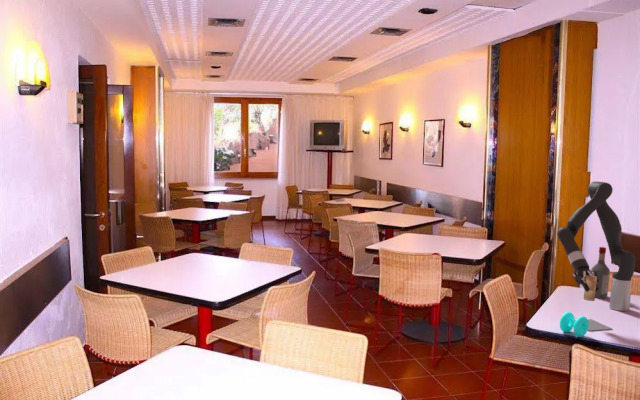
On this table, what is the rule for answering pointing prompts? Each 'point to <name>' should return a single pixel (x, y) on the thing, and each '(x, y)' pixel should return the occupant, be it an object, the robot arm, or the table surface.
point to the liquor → (602, 274)
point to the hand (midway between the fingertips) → (592, 290)
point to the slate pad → (596, 326)
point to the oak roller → (592, 286)
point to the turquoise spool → (574, 324)
